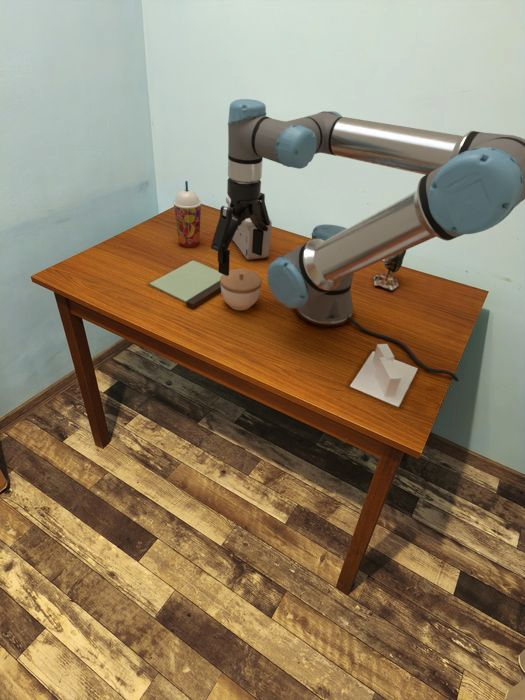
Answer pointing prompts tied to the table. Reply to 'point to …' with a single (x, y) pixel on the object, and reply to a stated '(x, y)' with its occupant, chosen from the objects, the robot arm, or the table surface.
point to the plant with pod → (390, 272)
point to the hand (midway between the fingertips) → (240, 263)
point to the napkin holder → (384, 376)
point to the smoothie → (187, 217)
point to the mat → (187, 280)
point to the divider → (204, 295)
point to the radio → (250, 238)
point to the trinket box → (240, 288)
